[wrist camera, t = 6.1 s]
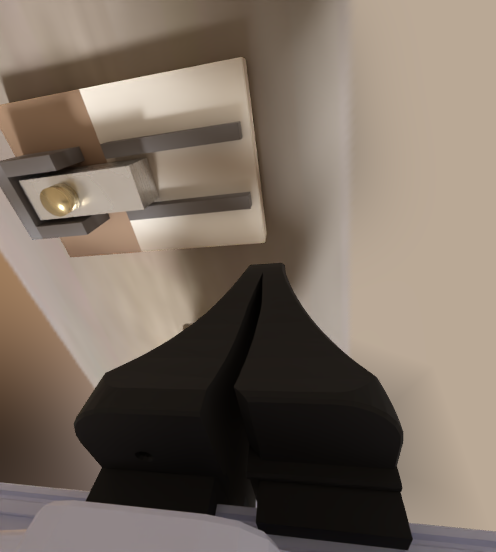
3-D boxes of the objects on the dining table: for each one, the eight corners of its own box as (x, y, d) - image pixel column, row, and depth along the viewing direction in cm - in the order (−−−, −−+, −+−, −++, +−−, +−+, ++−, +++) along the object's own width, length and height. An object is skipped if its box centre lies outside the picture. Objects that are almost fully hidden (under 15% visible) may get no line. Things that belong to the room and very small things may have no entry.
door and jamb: (266, 233, 20) (261, 262, 17) (82, 248, 23) (46, 275, 20) (245, 59, 15) (232, 51, 12) (9, 105, 18) (-57, 110, 14)
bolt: (158, 197, 18) (136, 215, 16) (63, 207, 19) (28, 226, 17) (146, 157, 17) (119, 170, 14) (45, 171, 18) (3, 186, 16)
